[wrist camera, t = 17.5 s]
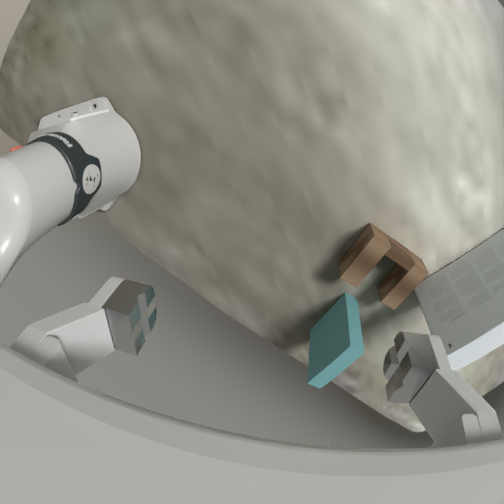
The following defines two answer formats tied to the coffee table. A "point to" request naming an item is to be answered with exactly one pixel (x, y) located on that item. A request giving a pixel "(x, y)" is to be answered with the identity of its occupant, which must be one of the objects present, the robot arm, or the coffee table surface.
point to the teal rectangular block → (335, 341)
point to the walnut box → (369, 254)
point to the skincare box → (467, 303)
